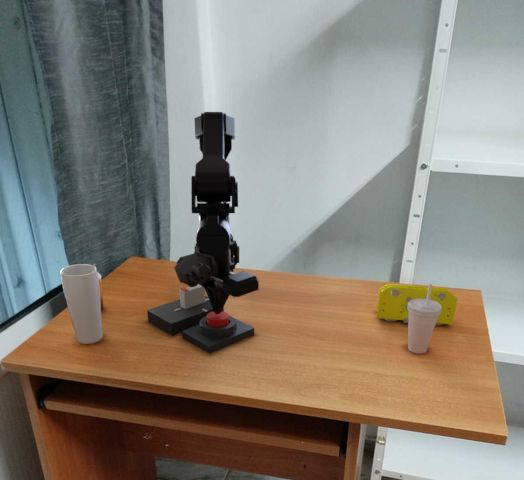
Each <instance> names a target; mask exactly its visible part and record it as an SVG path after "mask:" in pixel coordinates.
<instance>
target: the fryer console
mask: <svg viewBox="0 0 524 480" xmlns="http://www.w3.org/2000/svg"><path fill="white" fill-rule="evenodd" d="M224 308H225V306H224V307H223V309H222V311H223V312H225V311H224V310H225V309H224ZM146 312H147V323H148V324H150V325H151V326H153V327H155V328H157V329H159V330H161V331H162V332H164V333H166V334H167V335H169V336H171V337H175V336H177V335H180V334H182V331H183V330H186V329H189V328H191V327H194V326H197V325H199V324H200V320H201V319H202V318H203V317H206V316H207V315H208V314H209V313H210V312H214V311H213V308H212V306H211V303H210V301H209V298H208V296H206V295H205V302H204V303H202V304H199V305H196V306H193V307H190V308H188V309H184V308H182V307H181V304H180V298H179V299H176V300H173V301H170V302H167V303H164V304H162V305H158V306H155V307H153V308H152V307H151V308H149V309H147V310H146Z"/></svg>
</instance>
